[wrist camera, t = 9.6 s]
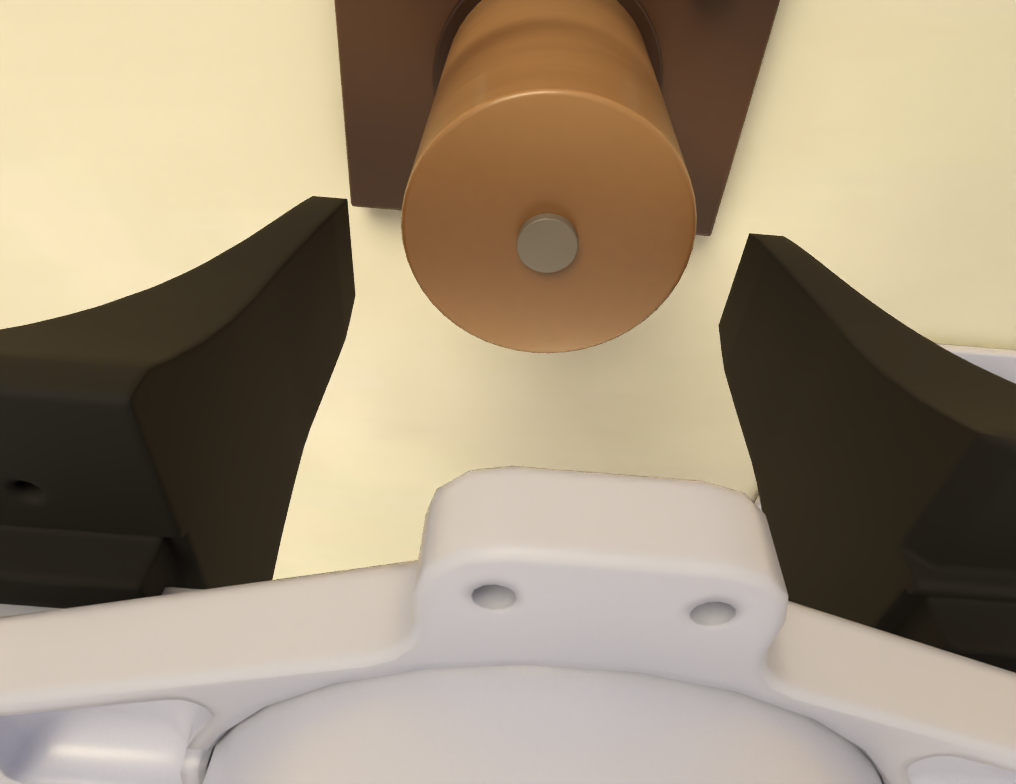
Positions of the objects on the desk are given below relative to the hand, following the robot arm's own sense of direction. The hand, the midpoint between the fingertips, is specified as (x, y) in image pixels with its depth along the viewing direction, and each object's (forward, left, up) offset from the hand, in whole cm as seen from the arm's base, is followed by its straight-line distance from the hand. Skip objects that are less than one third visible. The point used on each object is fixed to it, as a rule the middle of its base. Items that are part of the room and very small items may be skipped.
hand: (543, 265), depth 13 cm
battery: (+1, 0, -7) cm, 7 cm away
